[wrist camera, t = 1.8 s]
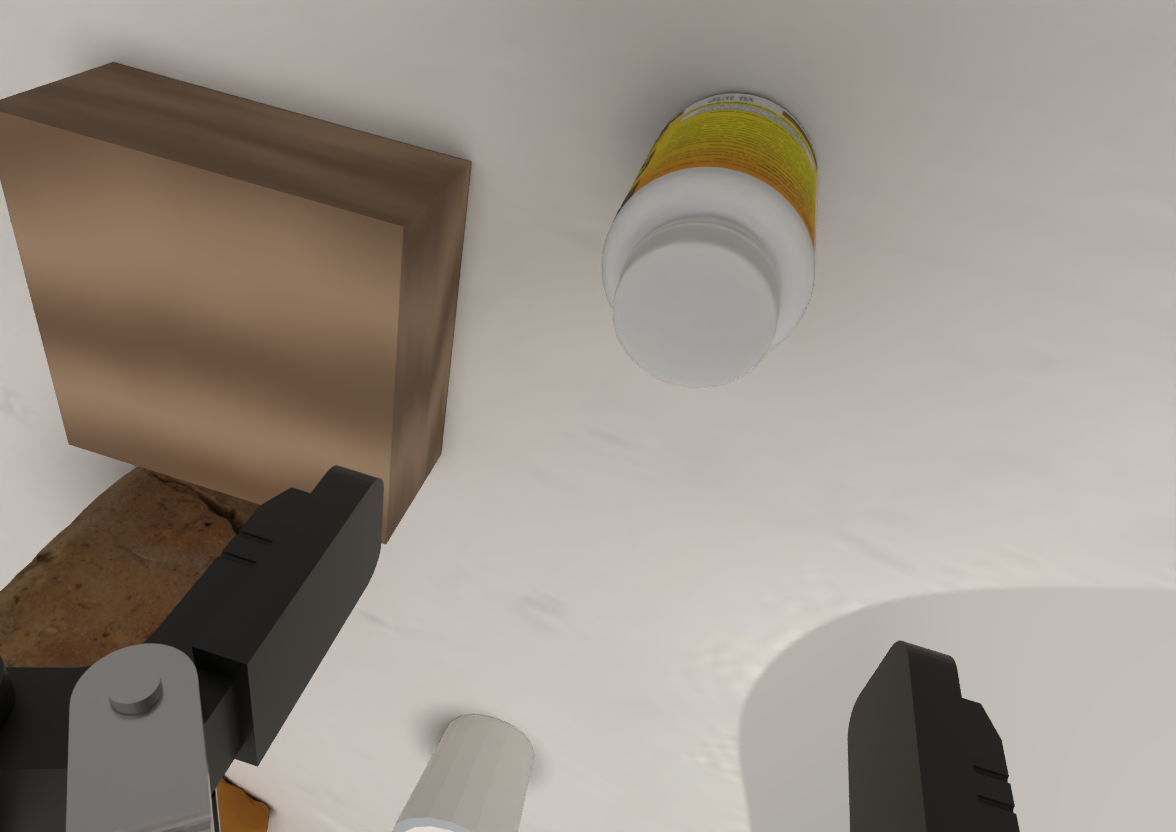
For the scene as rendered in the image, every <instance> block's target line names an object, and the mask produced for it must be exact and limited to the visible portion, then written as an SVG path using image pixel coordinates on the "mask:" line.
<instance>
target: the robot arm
mask: <svg viewBox="0 0 1176 832" xmlns="http://www.w3.org/2000/svg"><path fill="white" fill-rule="evenodd" d="M383 497H384V483H383V480H382V479H380V478H377V477H374V476H370V475H367V474H364V473H361V472H357V471H354V470H351V469H348V468H344V467H341V466H338V465H335V466H333V467H331V468H330V469H329V470H328V471H327V473H326V474H325V475H324V476H323V478H322V479H321V480H320V482H319V483H318V484H317V485H316V487H315V488H314V489H313V491H312V492H311V493H308V492H305V491H302V490H299V489H296V488H292V487H291V488H289V489H287V490H286V491H284V492H282V493H280V494H279V495H277V496H275V497H274V498H272V499H270V500H268V501H267V502H265V503H263V504H262V505H260V506H259V507H258V509H257V510H256V511H255V512H254V513H253V515H252V516H251V517H250V518H249V519H248V521H247V522H246V523H245V524H244V525H243V526H242V528H241V529H240V530H239V534H238V535H237V536H234V537H233V538H232V540H231V541H230V542H229V543H228V544H227V546H226V547H225V548H224V549H223V550H222V554H221V556H220V557H219V556H217V558H216V559H215V560H214V561H213V562H212V564H211V565H210V566H209V567H208V568H207V570H206V571H205V572H204V573H203V574H202V576H201V577H200V578H199V579H198V580H197V581H196V583H195V584H194V585H193V586H192V587H191V589H190V590H189V591H188V592H187V593H186V595H185V596H184V597H183V598H182V599H181V601H180V602H179V603H178V604H177V605H176V607H175V608H174V609H173V610H172V611H171V613H170V614H169V615H168V616H167V617H166V619H165V620H164V621H163V622H162V623H161V625H160V626H159V627H158V628H157V629H156V631H155V632H154V633H153V634H152V635H151V636H150V637H149V638H148V639H147V640H145V641H144V642H143V643H142V644H138V645H133V646H129V647H125V648H122V649H119V650H117V651H114V652H112V653H110V654H108V655H107V656H105V657H103V658H102V659H100V660H99V661H97V662H96V663H94V664H93V665H92V666H86V667H74V668H51V667H5V664H4V662H3V659H2V658H1V656H0V832H221V828H220V819H219V809H218V799H217V789H216V787H217V785H218V784H219V782H220V781H221V779H222V777H223V776H224V774H225V773H226V771H227V770H228V768H229V766H230V765H231V763H232V762H233V760H234V759H237V760H240V761H243V762H246V763H249V764H252V765H255V766H258V765H259V764H260V762H261V760H262V759H263V757H264V755H265V754H266V752H267V750H268V749H269V747H270V745H271V744H272V742H273V740H274V739H275V737H276V736H277V734H278V732H279V731H280V729H281V727H282V726H283V724H284V722H285V721H286V719H287V717H288V716H289V714H290V712H291V711H292V709H293V707H294V706H295V704H296V702H297V701H298V699H299V697H300V696H301V694H302V693H303V691H304V689H305V688H306V686H307V684H308V683H309V681H310V679H311V678H312V676H313V674H314V673H315V671H316V669H317V668H318V666H319V664H320V663H321V661H322V659H323V658H324V656H325V655H326V653H327V651H328V650H329V648H330V646H331V645H332V643H333V641H334V640H335V638H336V636H337V635H338V633H339V631H340V630H341V628H342V626H343V625H344V623H345V621H346V620H347V618H348V616H349V615H350V613H351V612H352V610H353V608H354V607H355V605H356V603H357V602H358V600H359V598H360V597H361V595H362V593H363V592H364V590H365V588H366V587H367V585H368V583H369V581H370V579H371V577H372V575H373V573H374V570H375V567H376V565H377V561H378V558H379V554H380V549H381V535H382V516H383ZM848 767H849V768H848V769H849V805H850V832H1020V831H1019V826H1018V821H1017V816H1016V814H1015V813H1013V808H1014V801H1013V795H1012V790H1011V785H1010V784H1009V783H1008V782H1007V779H1008V777H1009V775H1008V770H1007V765H1006V760H1005V755H1004V750H1003V745H1002V740H1001V738H1000V737H999V735H998V733H997V731H996V729H995V728H994V726H993V724H992V722H991V721H990V719H989V717H988V715H987V714H986V712H985V710H984V708H983V707H982V705H981V704H980V703H977V702H974V701H970V700H967V699H964V698H962V696H961V690H960V684H959V678H958V672H957V666H956V663H955V661H954V659H953V658H952V657H951V656H949V655H946V654H942V653H939V652H936V651H933V650H930V649H926V648H923V647H920V646H917V645H913V644H910V643H907V642H904V641H897V642H896V643H894V644H893V646H892V647H891V648H890V650H889V651H888V653H887V654H886V656H885V658H884V659H883V660H882V662H881V663H880V665H879V667H878V668H877V670H876V671H875V673H874V674H873V675H872V677H871V678H870V680H869V681H868V683H867V684H866V686H865V688H864V689H863V690H862V692H861V693H860V695H859V697H858V698H857V700H856V703H855V705H854V707H853V711H852V713H851V717H850V722H849V729H848Z"/></svg>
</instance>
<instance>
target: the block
mask: <svg viewBox="0 0 1176 832" xmlns="http://www.w3.org/2000/svg"><path fill="white" fill-rule="evenodd" d="M259 506H260V504H257V503H253V502H250V501H247V500H244V499H241V498H238V497H234V496H231V495H228V494H225V493H222V492H219V491H215V490H212V489H209V488H206V487H203V486H200V485H196V484H193V483H190V482H187V481H184V480H181V479H177V478H174V477H171V476H168V475H165V474H162V473H158V472H155V471H152V470H149V469H146V468H143V467H139V466H138V467H136V468H135V469H134V470H132V471H131V472H129V473H128V474H126V475H125V476H123V477H122V478H121V479H119V480H118V481H117V482H116V483H114V484H113V485H112V486H111V487H109V488H108V489H107V490H106V491H104V492H103V493H102V494H101V495H100V496H98V497H97V498H96V499H95V500H94V501H93V502H92V503H91V504H90V505H89V506H88V507H87V508H85V509H84V510H83V511H82V512H81V513H80V515H79V516H78V517H77V518H76V519H75V520H74V521H73V522H72V523H71V524H70V525H69V526H68V527H66V528H65V529H64V530H63V531H62V532H60V533H59V534H58V535H57V536H56V537H55V538H54V539H53V540H52V541H51V542H50V543H49V544H47V545H46V546H45V547H44V548H43V549H42V550H41V551H40V552H39V553H38V554H37V556H36V557H35V558H34V559H33V561H32V562H31V563H29V564H28V565H27V566H26V567H25V568H24V569H23V570H22V571H20V572H19V573H18V574H17V575H16V576H15V577H14V578H13V580H12V581H11V582H10V583H9V584H8V585H7V586H6V587H5V588H4V589H2V590H1V591H0V656H1V658H2V659H3V662H4V664H5V667H51V668H74V667H86V666H92V665H93V664H94V663H96V662H97V661H99V660H100V659H102V658H103V657H105V656H107V655H108V654H110V653H112V652H114V651H117V650H119V649H122V648H125V647H129V646H133V645H138V644H142V643H143V642H144V641H145V640H147V639H148V638H149V637H150V636H151V635H152V634H153V633H154V632H155V631H156V629H157V628H158V627H159V626H160V625H161V623H162V622H163V621H164V620H165V619H166V617H167V616H168V615H169V614H170V613H171V611H172V610H173V609H174V608H175V607H176V605H177V604H178V603H179V602H180V601H181V599H182V598H183V597H184V596H185V595H186V593H187V592H188V591H189V590H190V589H191V587H192V586H193V585H194V584H195V583H196V581H197V580H198V579H199V578H200V577H201V576H202V574H203V573H204V572H205V571H206V570H207V568H208V567H209V566H210V565H211V564H212V562H213V561H214V560H215V559H216V558H217V556H219V557H220V556H221V554H222V550H223V549H224V548H225V547H226V546H227V544H228V543H229V542H230V541H231V540H232V538H233V537H234V536H237V535H238V534H239V530H240V529H241V528H242V526H243V525H244V524H245V523H246V522H247V521H248V519H249V518H250V517H251V516H252V515H253V513H254V512H255V511H256V510H257V509H258V507H259Z"/></svg>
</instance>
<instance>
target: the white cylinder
mask: <svg viewBox="0 0 1176 832" xmlns="http://www.w3.org/2000/svg"><path fill="white" fill-rule="evenodd" d="M533 758H534V754H533V749H532V745H531V744H530V742H529V741H528V740H527V738H526V737H525V736H524V734H522V733H521V732H520V731H518V730H517V729H515V728H514V727H513V726H511V725H510V724H508V723H505V722H503V721H500V720H498V719H496V718H493V717H488V716H482V715H476V714H474V715H465V716H460V717H458V718H456V719H454V720H453V721H451V722H450V724H449V726H448V727H447V729H446V731H445V733H444V735H443V737H442V739H441V740H440V742H439V744H438V746H437V748H436V750H435V752H434V753H433V755H432V757H431V759H430V761H429V763H428V765H427V767H426V768H425V770H424V772H423V774H422V776H421V778H420V780H419V781H418V783H417V785H416V787H415V789H414V791H413V793H412V794H411V796H410V798H409V800H408V802H407V804H406V806H405V807H404V809H403V811H402V813H401V815H400V817H399V819H398V820H397V822H396V824H395V827H394V829H393V832H518V828H519V824H520V819H521V814H522V810H523V805H524V800H525V795H526V791H527V786H528V781H529V777H530V772H531V767H532V762H533Z"/></svg>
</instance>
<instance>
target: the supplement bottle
mask: <svg viewBox="0 0 1176 832" xmlns="http://www.w3.org/2000/svg"><path fill="white" fill-rule="evenodd" d="M817 185H818V175H817V163H816V157H815V154H814V150H813V147H812V145H811V142H810V140H809V138H808V136H807V134H806V133H805V131H804V130H803V128H802V127H801V126H800V124H799V123H798V122H797V120H796V119H795V118H794V117H793V116H792V115H791V114H790V113H788V112H787V111H786V110H785V109H783V108H782V107H780V106H779V105H777V104H775V103H773V102H771V101H769V100H767V99H764V98H761V97H758V96H754V95H749V94H740V93H728V94H720V95H715V96H712V97H708V98H705V99H703V100H700V101H698V102H696V103H694V104H692V105H690V106H689V107H687V108H686V109H684V110H683V111H681V112H680V113H679V114H678V115H676V116H675V117H674V118H673V119H672V120H671V121H670V122H669V123H668V125H667V126H666V127H665V128H664V130H663V131H662V133H661V134H660V136H659V137H658V139H657V140H656V142H655V144H654V146H653V148H652V149H651V151H650V153H649V155H648V157H647V159H646V161H645V163H644V165H643V166H642V168H641V170H640V172H639V174H638V176H637V178H636V180H635V182H634V183H633V185H632V187H631V189H630V191H629V193H628V195H627V197H626V198H625V200H624V202H623V204H622V206H621V208H620V209H619V210H618V213H617V215H616V217H615V219H614V221H613V223H612V225H611V227H610V230H609V232H608V235H607V238H606V241H605V245H604V250H603V256H602V278H603V285H604V289H605V292H606V296H607V299H608V301H609V304H610V306H611V308H612V310H613V322H614V327H615V330H616V334H617V337H618V339H619V341H620V343H621V345H622V347H623V348H624V350H625V351H626V353H627V354H628V355H629V357H630V358H631V359H632V360H633V361H634V362H635V363H636V364H637V365H638V366H639V367H640V368H642V369H643V370H644V371H646V372H647V373H649V374H650V375H652V376H654V377H656V378H657V379H659V380H662V381H664V382H667V383H670V384H673V385H676V386H682V387H688V388H708V387H715V386H719V385H723V384H727V383H729V382H732V381H734V380H736V379H738V378H740V377H742V376H744V375H745V374H747V373H748V372H750V371H751V370H752V369H753V368H754V367H755V366H756V365H757V364H758V363H759V362H760V361H761V360H762V359H763V357H764V356H765V355H766V353H767V352H768V351H769V350H770V349H772V348H773V347H775V346H776V345H778V344H779V343H780V342H781V341H782V340H784V339H785V338H786V337H787V335H788V334H789V333H790V332H791V331H792V330H793V329H794V328H795V326H796V325H797V324H798V322H799V321H800V319H801V317H802V316H803V314H804V312H805V310H806V308H807V305H808V303H809V300H810V297H811V294H812V289H813V285H814V276H815V246H816V222H817Z"/></svg>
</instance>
